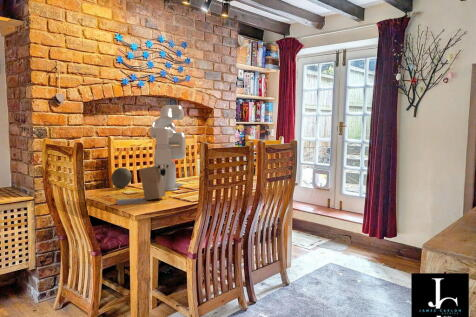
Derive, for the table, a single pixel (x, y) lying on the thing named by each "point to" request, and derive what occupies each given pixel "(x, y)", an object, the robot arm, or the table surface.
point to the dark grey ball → (121, 177)
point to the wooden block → (152, 183)
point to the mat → (131, 201)
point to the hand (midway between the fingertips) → (163, 175)
